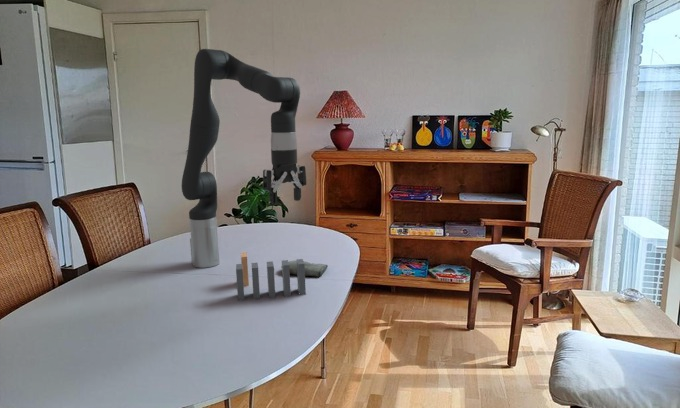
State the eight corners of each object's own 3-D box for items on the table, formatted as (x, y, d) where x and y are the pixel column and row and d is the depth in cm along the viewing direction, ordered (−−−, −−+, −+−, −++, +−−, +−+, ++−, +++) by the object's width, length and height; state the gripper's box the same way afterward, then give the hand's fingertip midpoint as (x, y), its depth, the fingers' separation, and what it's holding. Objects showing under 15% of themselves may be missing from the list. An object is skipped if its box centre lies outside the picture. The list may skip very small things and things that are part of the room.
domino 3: (253, 299, 147) (251, 268, 145) (253, 293, 152) (251, 263, 150) (259, 298, 147) (258, 267, 145) (259, 292, 152) (257, 262, 150)
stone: (276, 274, 167) (319, 284, 164) (277, 264, 166) (320, 273, 163) (288, 262, 177) (328, 270, 174) (288, 251, 176) (329, 260, 173)
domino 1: (238, 300, 146) (236, 269, 144) (238, 294, 151) (236, 264, 149) (244, 300, 146) (242, 268, 145) (244, 294, 151) (242, 263, 149)
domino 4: (269, 297, 148) (267, 266, 146) (268, 291, 153) (266, 261, 151) (275, 297, 148) (273, 266, 146) (274, 291, 153) (272, 261, 151)
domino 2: (243, 286, 158) (241, 257, 156) (242, 281, 163) (241, 252, 161) (248, 285, 158) (247, 256, 156) (248, 280, 163) (246, 252, 161)
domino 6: (299, 294, 149) (298, 264, 148) (297, 289, 154) (296, 259, 152) (305, 294, 150) (304, 263, 148) (303, 288, 155) (302, 258, 153)
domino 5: (284, 296, 149) (283, 265, 147) (283, 290, 153) (281, 260, 152) (290, 295, 149) (289, 265, 147) (289, 290, 154) (287, 260, 152)
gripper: (295, 145, 154) (296, 197, 157) (256, 148, 144) (258, 204, 147) (311, 146, 148) (312, 200, 152) (271, 150, 139) (273, 207, 142)
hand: (285, 202), depth 149 cm, fingers open, 8 cm apart
